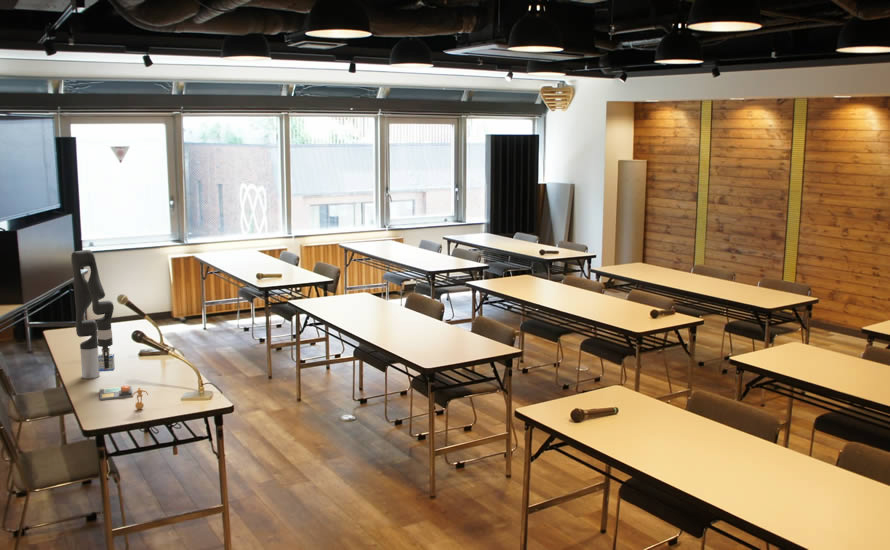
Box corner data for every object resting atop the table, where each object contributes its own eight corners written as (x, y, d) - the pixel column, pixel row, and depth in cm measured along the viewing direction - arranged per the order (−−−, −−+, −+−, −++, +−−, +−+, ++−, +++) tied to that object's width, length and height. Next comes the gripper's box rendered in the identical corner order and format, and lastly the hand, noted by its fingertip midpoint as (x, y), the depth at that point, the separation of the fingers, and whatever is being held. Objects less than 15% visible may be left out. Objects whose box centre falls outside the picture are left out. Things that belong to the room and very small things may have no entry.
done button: (120, 389, 418) (120, 386, 418) (129, 388, 420) (129, 385, 420) (121, 391, 414) (121, 388, 414) (130, 390, 416) (129, 387, 416)
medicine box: (98, 371, 426) (97, 356, 424) (99, 369, 430) (98, 354, 428) (114, 370, 428) (113, 355, 426) (114, 368, 432) (114, 353, 431)
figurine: (147, 406, 401) (146, 384, 399) (150, 410, 396) (148, 387, 394) (130, 409, 396) (129, 386, 394) (132, 413, 391) (131, 390, 389)
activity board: (99, 390, 424) (99, 387, 424) (131, 387, 431) (131, 384, 430) (100, 400, 409) (100, 396, 409) (133, 396, 416) (132, 393, 415)
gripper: (96, 334, 430) (98, 363, 433) (97, 341, 418) (99, 371, 421) (111, 333, 433) (113, 362, 437) (112, 339, 421) (114, 369, 424)
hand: (106, 366), depth 429 cm, fingers closed on medicine box, 5 cm apart
